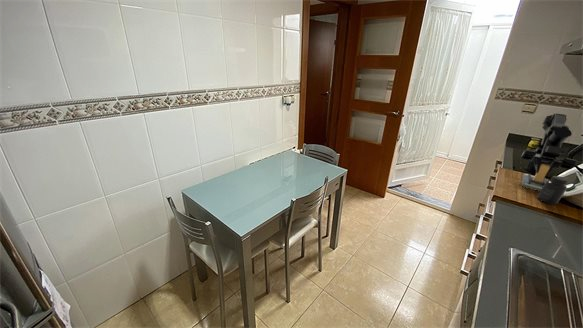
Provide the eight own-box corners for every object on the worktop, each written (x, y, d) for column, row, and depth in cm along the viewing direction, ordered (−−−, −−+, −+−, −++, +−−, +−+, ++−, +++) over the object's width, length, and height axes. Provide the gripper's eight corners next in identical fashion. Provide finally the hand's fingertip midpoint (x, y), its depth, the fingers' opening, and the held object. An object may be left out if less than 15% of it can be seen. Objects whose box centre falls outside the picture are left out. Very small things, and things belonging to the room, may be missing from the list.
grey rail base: (522, 175, 130) (524, 171, 129) (547, 182, 124) (549, 178, 123) (521, 186, 119) (524, 182, 118) (549, 194, 113) (552, 189, 112)
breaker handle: (530, 179, 123) (539, 163, 119) (542, 182, 121) (551, 166, 117) (530, 181, 121) (539, 165, 117) (542, 184, 118) (552, 168, 114)
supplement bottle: (561, 206, 105) (576, 183, 99) (543, 203, 106) (557, 181, 101) (549, 197, 111) (563, 175, 105) (532, 195, 112) (545, 173, 107)
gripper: (532, 134, 119) (522, 161, 117) (587, 144, 108) (577, 173, 106) (525, 145, 128) (515, 169, 125) (575, 155, 117) (565, 182, 114)
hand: (541, 173), depth 117 cm, fingers closed on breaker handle, 3 cm apart
